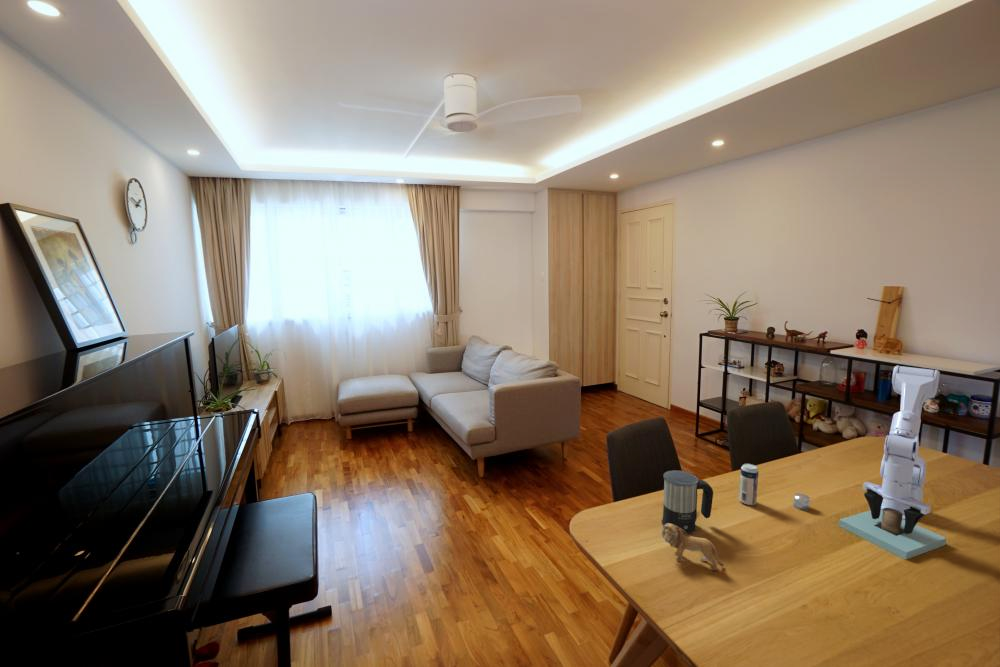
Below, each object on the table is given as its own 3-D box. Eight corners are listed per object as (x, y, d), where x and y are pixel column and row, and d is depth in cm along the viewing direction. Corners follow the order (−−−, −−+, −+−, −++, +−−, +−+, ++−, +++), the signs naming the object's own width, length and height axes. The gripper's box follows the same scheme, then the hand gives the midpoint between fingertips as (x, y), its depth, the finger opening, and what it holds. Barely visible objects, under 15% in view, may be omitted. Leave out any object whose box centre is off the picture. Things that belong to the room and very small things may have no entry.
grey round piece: (799, 502, 140) (800, 492, 139) (811, 509, 136) (813, 498, 135) (790, 505, 138) (791, 494, 138) (802, 511, 134) (803, 500, 134)
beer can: (758, 507, 137) (761, 470, 135) (741, 505, 138) (744, 469, 136) (752, 499, 142) (755, 463, 140) (736, 497, 143) (739, 462, 141)
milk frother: (676, 538, 122) (679, 487, 120) (639, 509, 136) (641, 463, 134) (716, 527, 127) (719, 478, 124) (677, 500, 141) (679, 456, 139)
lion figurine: (660, 561, 112) (662, 528, 111) (660, 549, 117) (662, 517, 116) (725, 574, 107) (727, 539, 106) (722, 560, 112) (724, 527, 111)
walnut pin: (886, 529, 125) (889, 506, 124) (902, 537, 121) (906, 513, 120) (876, 532, 123) (879, 509, 122) (893, 540, 120) (896, 516, 119)
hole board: (876, 514, 133) (877, 508, 132) (945, 544, 118) (946, 538, 117) (838, 525, 127) (839, 519, 126) (905, 559, 112) (906, 552, 112)
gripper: (858, 469, 125) (852, 514, 127) (921, 493, 112) (914, 543, 114) (874, 465, 128) (868, 509, 130) (937, 488, 114) (931, 537, 116)
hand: (891, 525), depth 122 cm, fingers open, 7 cm apart
